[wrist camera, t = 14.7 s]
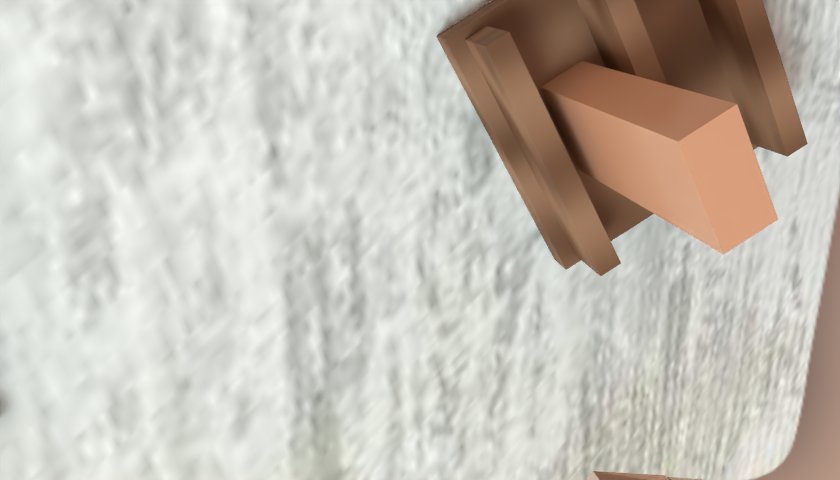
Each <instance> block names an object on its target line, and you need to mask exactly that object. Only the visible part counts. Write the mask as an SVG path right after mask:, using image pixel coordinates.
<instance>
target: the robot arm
mask: <svg viewBox="0 0 840 480" xmlns="http://www.w3.org/2000/svg"><path fill="white" fill-rule="evenodd" d="M586 480H703V479H692V478H674V477H666V476H663V475H647V474H630V473H614V472H597V471H593V472H592V473H591V474H589V475H588V477H587V479H586Z"/></svg>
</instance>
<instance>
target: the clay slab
mask: <svg viewBox="0 0 840 480" xmlns="http://www.w3.org/2000/svg"><path fill="white" fill-rule="evenodd" d="M541 89H542V91H543V93H544V95H545V98H546V100H547V102H548V104H549V106H550V108H551V110H552V112H553V114H554V116H555V118H556V120H557V123H558V125H559V127H560V129H561V131H562V133H563V135H564V137H565V139H566V141H567V143H568V145H569V147H570V150H571V152H572V154H573V156H574V158H575V160H576V162H577V164H578V166H579V168H580V170H581V171H582V172H584V173H586V174H587V175H589V176H591V177H592V178H594V179H596V180H597V181H599V182H601V183H603V184H604V185H606V186H608V187H609V188H611V189H613V190H615V191H616V192H618V193H620V194H621V195H623V196H625V197H627V198H628V199H630V200H632V201H633V202H635V203H637V204H639V205H640V206H642V207H644V208H645V209H647V210H649V211H651V212H652V213H654V214H656V215H657V216H659V217H661V218H663V219H664V220H666V221H668V222H669V223H671V224H673V225H674V226H676V227H678V228H680V229H681V230H683V231H685V232H686V233H688V234H690V235H692V236H693V237H695V238H697V239H698V240H700V241H702V242H704V243H705V244H707V245H709V246H710V247H712V248H714V249H716V250H717V251H719V252H721V253H722V254H725V253H727V252H728V251H730V250H731V249H733V248H734V247H736V246H737V245H739V244H741V243H742V242H744V241H745V240H747V239H748V238H750V237H751V236H753V235H754V234H756V233H758V232H759V231H761V230H762V229H764V228H765V227H767V226H768V225H770V224H772V223H773V222H775V221H776V220H778V217H777V215H776V212H775V209H774V206H773V203H772V201H771V198H770V195H769V192H768V189H767V186H766V184H765V181H764V178H763V175H762V172H761V170H760V167H759V164H758V161H757V158H756V156H755V153H754V150H753V147H752V144H751V142H750V139H749V136H748V133H747V130H746V127H745V125H744V122H743V119H742V116H741V113H740V111H739V108H738V105H737V104H735V103H732V102H728V101H725V100H721V99H717V98H714V97H710V96H707V95H703V94H699V93H696V92H692V91H689V90H685V89H681V88H678V87H674V86H671V85H667V84H663V83H660V82H656V81H653V80H649V79H645V78H642V77H638V76H635V75H631V74H627V73H624V72H620V71H617V70H613V69H609V68H606V67H602V66H599V65H595V64H591V63H588V62H584V61H581V62H579V63H578V64H576V65H575V66H573V67H572V68H570V69H568V70H567V71H565V72H564V73H562V74H560V75H559V76H557V77H556V78H554V79H553V80H551V81H549V82H548V83H546V84H545V85H543V86H542V87H541Z"/></svg>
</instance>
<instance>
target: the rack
mask: <svg viewBox="0 0 840 480" xmlns="http://www.w3.org/2000/svg"><path fill="white" fill-rule="evenodd" d="M437 38H438V40H439V42H440V44H441V46H442V48H443V49H444V51H445V53H446V55H447V57H448V59H449V61H450V63H451V65H452V66H453V68H454V70H455V72H456V74H457V76H458V78H459V80H460V82H461V83H462V85H463V87H464V89H465V91H466V93H467V95H468V97H469V99H470V100H471V102H472V104H473V106H474V108H475V110H476V112H477V114H478V116H479V117H480V119H481V121H482V123H483V125H484V127H485V129H486V131H487V133H488V134H489V136H490V138H491V140H492V142H493V144H494V146H495V148H496V150H497V151H498V153H499V155H500V157H501V159H502V161H503V163H504V165H505V166H506V168H507V170H508V172H509V174H510V176H511V178H512V180H513V182H514V183H515V185H516V187H517V189H518V191H519V193H520V195H521V197H522V199H523V200H524V202H525V204H526V206H527V208H528V210H529V212H530V214H531V216H532V217H533V219H534V221H535V223H536V225H537V227H538V229H539V231H540V233H541V234H542V236H543V238H544V240H545V242H546V244H547V246H548V248H549V250H550V251H551V253H552V255H553V257H554V259H555V260H556V261H557V262H558V263H559V264H560V265H561V266H563V267H564V268H565V269H568V268H569V267H571V266H573V265H574V264H576V263H577V262H579V261H580V260H582V261H583V262H584V263H586V264H587V265H588V266H589V267H590V268H592V269H593V270H594V271H595V272H596V273H598V274H599V275H600V276H602V275H603V274H605V273H606V272H608V271H610V270H611V269H613V268H614V267H616V266H617V265H619V264H621V262H620V260H619V258H618V256H617V254H616V252H615V250H614V248H613V246H612V244H611V241H612V240H613V239H615V238H616V237H618V236H619V235H621V234H623V233H624V232H626V231H627V230H629V229H630V228H632V227H634V226H635V225H637V224H638V223H640V222H641V221H643V220H644V219H646V218H648V217H649V216H651V215H652V214H654V213H652V212H651V211H649V210H647V209H645V208H644V207H642V206H640V205H639V204H637V203H635V202H633V201H632V200H630V199H628V198H627V197H625V196H623V195H621V194H620V193H618V192H616V191H615V190H613V189H611V188H609V187H608V186H606V185H604V184H603V183H601V182H599V181H597V180H596V179H594V178H592V177H591V176H589V175H587V174H586V173H584V172H582V171H581V170H580V168H579V166H578V164H577V162H576V160H575V158H574V156H573V154H572V152H571V150H570V147H569V145H568V143H567V141H566V139H565V137H564V135H563V133H562V131H561V129H560V127H559V125H558V123H557V120H556V118H555V116H554V114H553V112H552V110H551V108H550V106H549V104H548V102H547V100H546V98H545V95H544V93H543V91H542V89H541V87H542V86H543V85H545V84H546V83H548V82H549V81H551V80H553V79H554V78H556V77H557V76H559V75H560V74H562V73H564V72H565V71H567V70H568V69H570V68H572V67H573V66H575V65H576V64H578V63H579V62H581V61H584V62H588V63H591V64H595V65H599V66H602V67H606V68H609V69H613V70H617V71H620V72H624V73H627V74H631V75H635V76H638V77H642V78H645V79H649V80H653V81H656V82H660V83H663V84H667V85H671V86H674V87H678V88H681V89H685V90H689V91H692V92H696V93H699V94H703V95H707V96H710V97H714V98H717V99H721V100H725V101H728V102H732V103H735V104H737V105H738V108H739V111H740V113H741V116H742V119H743V122H744V125H745V127H746V130H747V133H748V136H749V139H750V142H751V144H752V147H753V150H754V149H755V148H757V147H762V148H765V149H768V150H771V151H773V152H776V153H779V154H782V155H785V156H789V155H791V154H792V153H794V152H795V151H797V150H798V149H800V148H801V147H803V146H805V145H806V144H807V141H806V137H805V134H804V131H803V128H802V125H801V122H800V118H799V115H798V112H797V109H796V106H795V103H794V100H793V96H792V93H791V90H790V87H789V84H788V81H787V77H786V74H785V71H784V68H783V65H782V62H781V59H780V55H779V52H778V49H777V46H776V43H775V40H774V36H773V33H772V30H771V27H770V24H769V21H768V18H767V14H766V11H765V8H764V5H763V2H762V0H494V1H492V2H491V3H489V4H487V5H486V6H484V7H483V8H481V9H479V10H478V11H476V12H475V13H473V14H472V15H470V16H468V17H467V18H465V19H464V20H462V21H460V22H459V23H457V24H456V25H454V26H452V27H451V28H449V29H448V30H446V31H444V32H443V33H441V34H440V35H438V36H437Z"/></svg>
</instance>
